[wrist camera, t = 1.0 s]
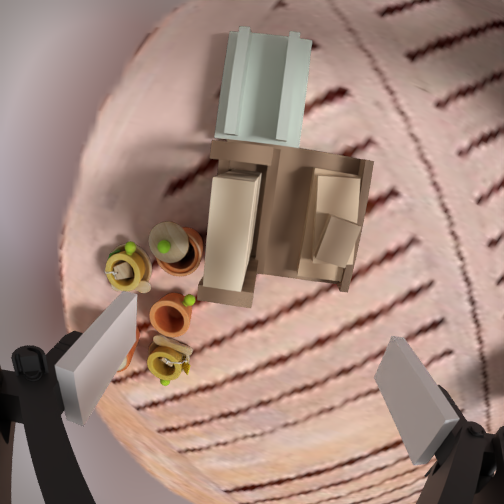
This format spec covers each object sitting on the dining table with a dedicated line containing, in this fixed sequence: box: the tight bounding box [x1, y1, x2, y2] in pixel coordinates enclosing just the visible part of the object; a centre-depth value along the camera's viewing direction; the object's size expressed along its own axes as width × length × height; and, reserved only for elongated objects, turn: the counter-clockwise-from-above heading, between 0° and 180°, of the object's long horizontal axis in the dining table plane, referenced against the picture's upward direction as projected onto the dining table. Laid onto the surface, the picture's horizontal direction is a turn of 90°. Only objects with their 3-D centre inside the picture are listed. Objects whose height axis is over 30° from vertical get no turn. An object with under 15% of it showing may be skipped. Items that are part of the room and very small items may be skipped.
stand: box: [214, 26, 312, 148], centre depth 33 cm, size 10×14×4 cm
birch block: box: [203, 169, 262, 292], centre depth 32 cm, size 3×9×14 cm, turn 173°
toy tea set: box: [104, 221, 204, 386], centre depth 40 cm, size 26×16×10 cm, turn 165°
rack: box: [197, 139, 374, 308], centre depth 34 cm, size 17×16×12 cm
